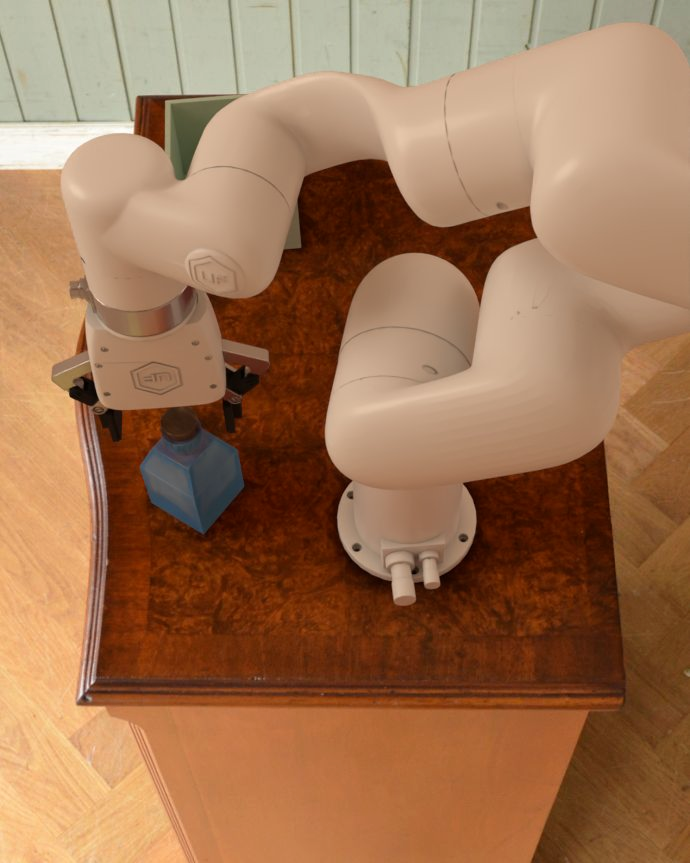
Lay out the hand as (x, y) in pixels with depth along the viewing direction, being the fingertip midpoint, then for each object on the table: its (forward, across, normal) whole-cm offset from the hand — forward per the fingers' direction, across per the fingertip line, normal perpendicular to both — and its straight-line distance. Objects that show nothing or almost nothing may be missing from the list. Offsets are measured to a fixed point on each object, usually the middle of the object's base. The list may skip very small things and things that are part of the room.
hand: (174, 423), depth 98 cm
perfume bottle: (+12, +1, 0) cm, 12 cm away
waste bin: (+12, +6, +37) cm, 39 cm away
